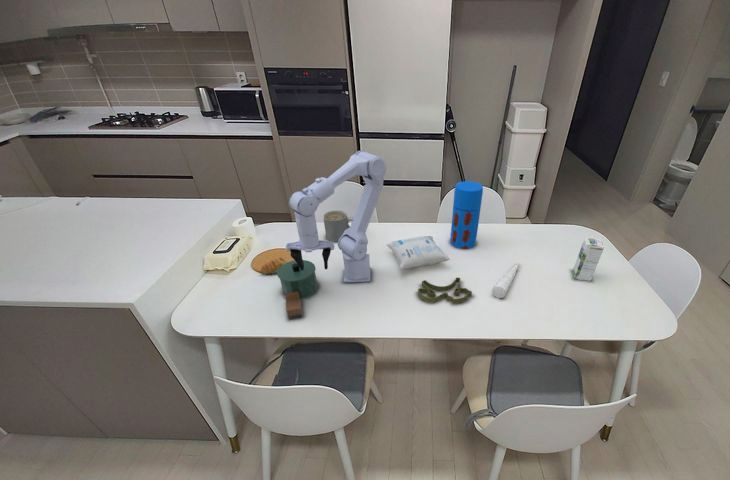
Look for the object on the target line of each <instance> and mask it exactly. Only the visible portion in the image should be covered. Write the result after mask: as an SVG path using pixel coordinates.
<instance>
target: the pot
mask: <svg viewBox="0 0 730 480" xmlns="http://www.w3.org/2000/svg"><path fill="white" fill-rule="evenodd" d="M279 281H280V284H281V289H282V291H283V295H284V296H285V297H286V294H287V293H292V292H298V291H299V295H300V300H301V299H306V298H308V297H310V296H312V295H314V294H315V292H317V290H318V281H317V275H316V271H315V272H314V274H313V275H312V276H311V277H309V278H307V279H305V280H302V281H298V282H286V281H283V280H281V279H279Z"/></svg>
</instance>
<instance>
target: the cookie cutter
mask: <svg viewBox="0 0 730 480" xmlns="http://www.w3.org/2000/svg"><path fill="white" fill-rule="evenodd" d="M457 283H458V284H457ZM456 284H457V286H456ZM460 285H461V277H455V279H454V281H453V282H452V283H450V284H448V285H443V286H440V285H435V284H432V283H430V282H429V281H427V280H424V279H423V280H421V288H417V295H418V297H419V299H421V300H422V301H423V302H426V303H429V304H432V303H437V302H439V301H442V300H443V299H444V298H446V300H447V302H451V303H452V305H456V304H462V303H464V302H466V301H467V300H468V298H471V297H472V294H473V291H472V290H469V289H468V288H467V287H460ZM455 286H456V288H454V287H455ZM453 288H454V290H453V291H454V292H453V296H452V295H449V292H448V291H450V290H452V289H453ZM436 292H443V293H441V294H439V295H437V296H436V294H437V293H436ZM424 294H427V295H424ZM460 294H465V296H462V297H459V296H460ZM454 297H459V298H454Z"/></svg>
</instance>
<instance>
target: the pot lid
mask: <svg viewBox="0 0 730 480" xmlns="http://www.w3.org/2000/svg"><path fill="white" fill-rule="evenodd" d="M303 263H304V269H303V270H301V269H300V267H299V265H298V264H297V262H296V261H295V260H291V261H287V262H286V263H285V264H284V265H282V266H281V267H280V268H279V269H278V271H277V273H276V275H277V277H278V279H279V280H280V279H281V280H283V281H286V282H298V281H302V280H305V279H307V278H309V277H311V276H312V275H313V274H314V272H315V273H316V265H315V264H314V263H313V262H312V261H310V260H305V259H303Z"/></svg>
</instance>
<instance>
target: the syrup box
mask: <svg viewBox="0 0 730 480" xmlns="http://www.w3.org/2000/svg"><path fill="white" fill-rule="evenodd" d="M582 241H583V242H582V244H581V246H580V249H579V252H578V255H577V258H576V260H575V263H574V266H573V269H572V273H573V277H574V279H575V280H580V281H588V282H591V281H592V278H593V277H594V275H595V271H596V269H597V266H598V264H599V261H600V259H601V256H602V255H603V253H604V252H603V251H604V249H605V246H604V243H603V242H602V240H601V239H598V238H592V237H584V239H583V240H582Z"/></svg>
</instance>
